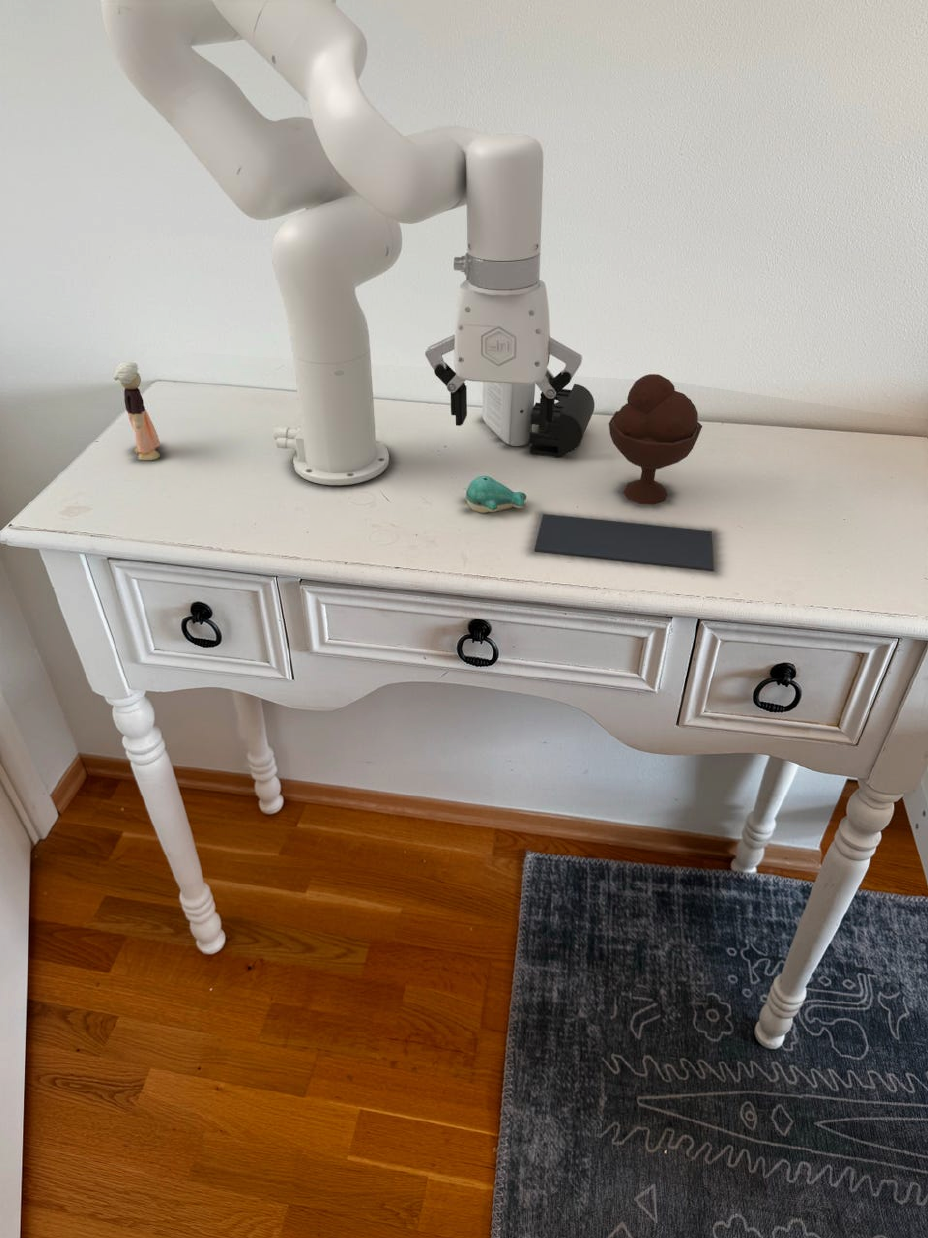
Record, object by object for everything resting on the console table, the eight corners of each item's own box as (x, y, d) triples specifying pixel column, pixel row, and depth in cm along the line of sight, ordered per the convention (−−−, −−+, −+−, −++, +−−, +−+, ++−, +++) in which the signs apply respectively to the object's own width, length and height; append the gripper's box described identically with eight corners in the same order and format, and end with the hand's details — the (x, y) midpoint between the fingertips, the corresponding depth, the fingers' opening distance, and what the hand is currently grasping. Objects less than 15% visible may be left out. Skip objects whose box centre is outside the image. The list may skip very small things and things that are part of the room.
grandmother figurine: (170, 459, 119) (150, 368, 111) (142, 466, 117) (120, 374, 110) (151, 437, 124) (130, 349, 116) (124, 445, 122) (101, 355, 115)
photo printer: (536, 443, 123) (541, 357, 115) (508, 449, 122) (511, 361, 114) (505, 414, 130) (507, 331, 123) (478, 419, 129) (479, 335, 122)
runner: (534, 551, 101) (534, 549, 101) (543, 515, 108) (543, 513, 108) (713, 571, 98) (713, 568, 98) (711, 533, 105) (711, 531, 104)
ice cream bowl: (592, 506, 110) (604, 391, 100) (615, 466, 118) (628, 356, 109) (678, 523, 106) (698, 406, 97) (695, 481, 115) (715, 369, 105)
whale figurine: (470, 492, 112) (471, 465, 110) (528, 498, 111) (529, 470, 109) (462, 515, 108) (462, 488, 105) (521, 522, 107) (523, 494, 104)
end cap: (579, 462, 119) (583, 415, 114) (528, 455, 120) (530, 408, 116) (592, 430, 126) (596, 385, 122) (543, 424, 128) (546, 379, 124)
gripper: (414, 277, 91) (421, 432, 101) (584, 284, 88) (574, 443, 98) (430, 257, 96) (436, 405, 107) (590, 263, 94) (580, 415, 104)
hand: (502, 423), depth 102 cm, fingers open, 9 cm apart
